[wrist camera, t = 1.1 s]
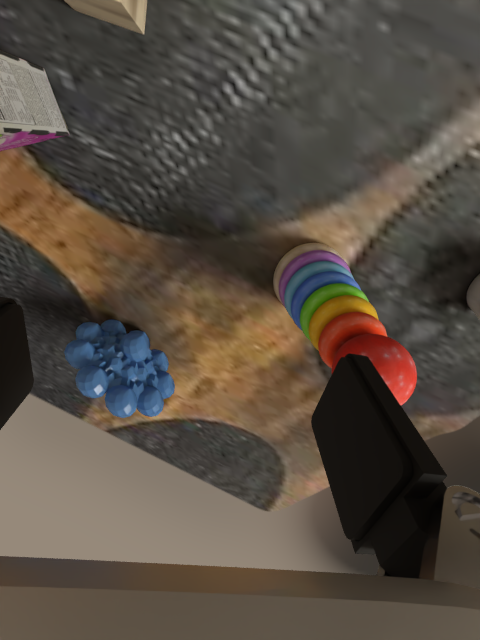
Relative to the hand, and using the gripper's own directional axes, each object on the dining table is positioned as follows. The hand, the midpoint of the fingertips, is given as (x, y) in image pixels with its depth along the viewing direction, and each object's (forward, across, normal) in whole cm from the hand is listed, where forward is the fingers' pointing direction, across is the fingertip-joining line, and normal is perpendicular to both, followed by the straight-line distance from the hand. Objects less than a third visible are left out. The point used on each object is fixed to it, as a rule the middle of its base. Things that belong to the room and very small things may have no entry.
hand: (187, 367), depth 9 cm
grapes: (+24, +6, +15) cm, 29 cm away
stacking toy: (+24, -11, +5) cm, 27 cm away
